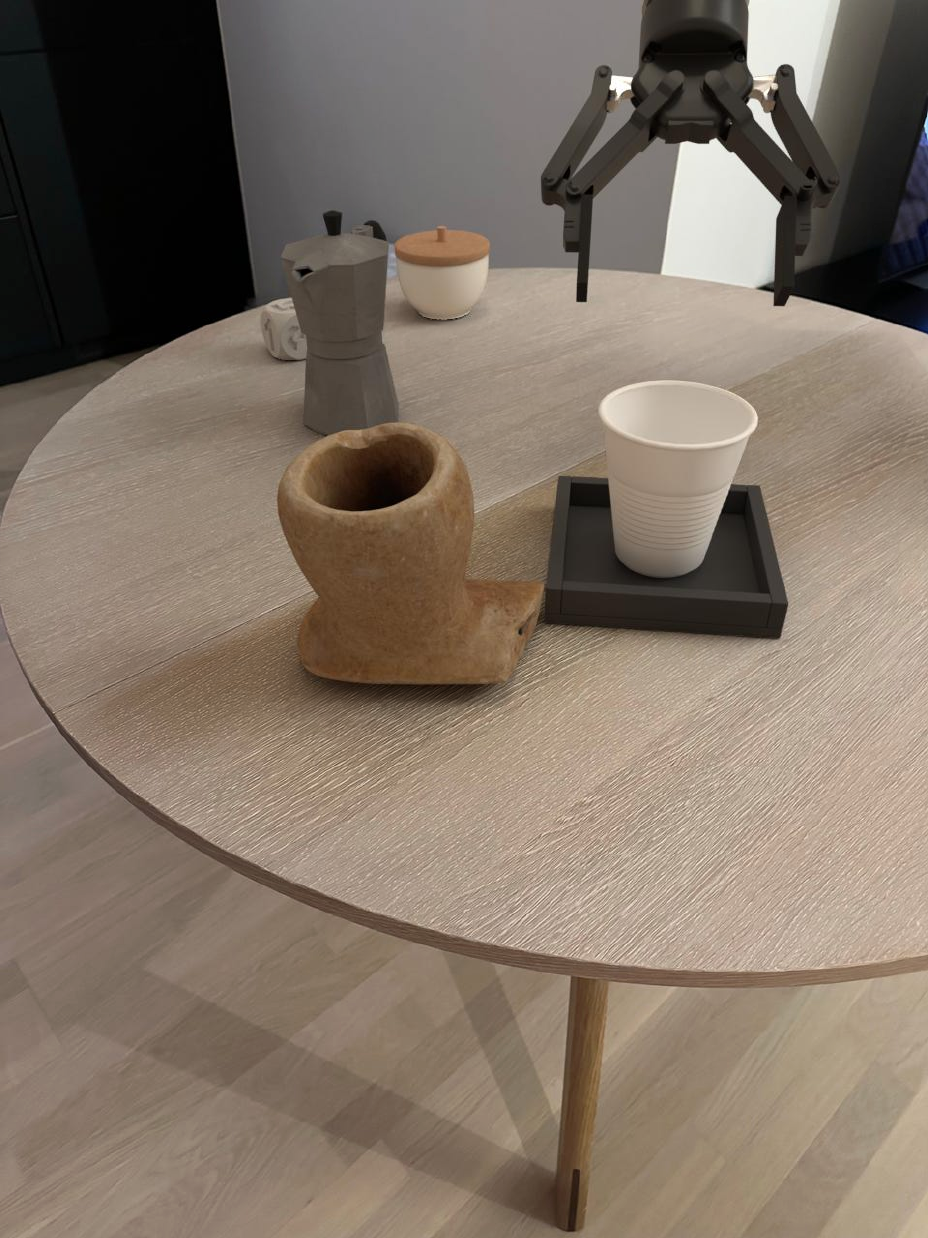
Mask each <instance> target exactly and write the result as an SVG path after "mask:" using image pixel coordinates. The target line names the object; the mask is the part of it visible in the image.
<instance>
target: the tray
mask: <svg viewBox="0 0 928 1238" xmlns="http://www.w3.org/2000/svg"><path fill="white" fill-rule="evenodd" d="M761 488H762V487H761V486H760V485H757V484H736V483H735V484H733V483H731V485H730V489H729V490H728V494H727V496H726V499H725V502H724V504H723V508H722V509H721V513H720V515H719V519H718V521H717V523H716V526H715V528H714V532H713V534H712V538H711V540H710V543H709V546H708V548H707V551H706V554H705V557H704V559H703V561H702V563H701V564H700V565H699V566H698V567H697V568H696V569H694V570H692V571H691V572H688V573H687V574H684V575H681V576H677V577H671V578H656V577H650V576H646V575H642V574H640V573H637V572H635V571H633V570H631V569H629V568H628V567H627V566H626V565H625V564H624V563H622V562H621V561H620V560H619V558H618V557H617V555H616V553H615V545H614V535H613V523H612V513H611V503H610V492H609V481H608V477H596V476H595V477H592V476H573V475H572V476H571V475H558V476H557V483H556V491H555V492H556V493H555V500H554V501H555V504H554V511H553V519H552V520H553V522H552V529H551V537H550V545H549V546H550V547H549V554H548V555H549V557H548V566H547V575H546V582H545V583H546V584H545V595H544V596H545V598H544V599H545V600H544V621H543V622H544V623H545V624H558V625H571V626H572V625H573V626H587V627H601V628H603V627H604V628H616V629H629V630H630V629H631V630H643V631H645V630H647V631H661V632H674V633H687V634H689V633H691V634H704V635H705V634H706V635H720V636H734V637H748V638H749V637H750V638H765V639H778V640H779V639H781V637H782V632H783V628H784V625H785V620H786V616H787V611H788V607H789V601H788V596H787V592H786V588H785V584H784V580H783V575H782V572H781V568H780V563H779V558H778V555H777V551H776V546H775V542H774V539H773V534H772V530H771V526H770V521H769V517H768V513H767V510H766V505H765V502H764V497H763V492H762V489H761Z"/></svg>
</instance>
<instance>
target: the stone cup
mask: <svg viewBox="0 0 928 1238" xmlns="http://www.w3.org/2000/svg"><path fill="white" fill-rule="evenodd" d="M276 502H277V504H276V505H277V515H278V519H279V522H280V525H281V530H282V532H283V535H284V537H285V539H286V540H285V541H286V542H287V544H288V547H289V549H290V552H291V553H292V557H293V558H294V560H295V563H296V564H297V566H298V568H299V569H300V571H301V573H302V574H303V576H304V577H305V579H306V581H307V582H308V584H309V585H310V587H311V588H312V589H313V591H314V593H315V594H316V595H317V596H318V597H317V599H316V600H315V601H314V602H313V604H311V606H310V607H309V609H308V610H307V612H306V613H305V615H304V617H303V619H302V621H301V623H300V626H299V631H298V634H297V641H296V651H297V653H299V654H300V661H301V663H302V666H303V667H304V668H305V669H306V670H307V671H308V672H310V673H311V674H313V675H315V676H318V677H320V678H325V679H329V680H336V681H342V682H347V683H355V684H356V683H357V684H370V685H371V684H372V685H379V684H380V685H493V684H494V685H495V684H504V683H506V682H507V681H509V677H510V676H511V675H512V674H513V673H514V672H515V671H516V670H517V666H518V664H519V661H520V659H521V658H522V657H523V655H524V653H525V646H526V645H527V643H529V641H530V639H531V637H532V636H533V634H534V632H535V630H536V627H537V624H538V623H537V622H538V618H539V616H540V612H541V609H542V603H543V599H544V596H545V593H546V584H545V583H544V582H543V581H541V580H508V579H507V580H505V579H489V578H466V574H467V568H468V564H469V558H470V552H471V546H472V541H473V534H474V525H475V515H476V513H475V501H474V493H473V487H472V482H471V479H470V475H469V472H468V469H467V466H466V464H465V462H464V460H463V458H462V457H461V455H460V454H459V453H458V451H457V450H456V449H455V448H454V446H453V445H452V444H451V443H450V442H449V440H447V439H446V438H445V437H444V436H442V434H441V435H440V434H438V433H437V432H434V431H433V430H430V429H429V428H426V427H424V426H420V425H417V424H413V423H408V422H395V423H386V424H381V425H378V426H374V427H372V428H368V429H362V430H345V431H341V432H338V433H335V434H332V435H328V436H327V435H325V436H324V437H323V438H321V439H318V440H316V441H315V442H314V443H312V444H311V445H309V446H307V447H306V448H305V449H304V450H303V451H302V452H300V453H299V454H298V455H297V456H295V458H293V460H291V462H290V463H289V464H288V465H287V466H286V468H285V471H284V472H283V475H282V477H281V479H280V482H279V484H278V489H277V494H276Z"/></svg>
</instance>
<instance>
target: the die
mask: <svg viewBox="0 0 928 1238" xmlns="http://www.w3.org/2000/svg"><path fill="white" fill-rule="evenodd" d="M260 328H261V334H262V338H263V341H264V343H265V346H266V348H267V351H268V352H269V353H270V354H271V356H272V357H273V358H275V357H276V358H275V359H277V358H278V359H277V360H280V359H282V360H281V361H285V360H297V361H302V360H306V353H307V341H306V335H305V334H303V333H301V330H300V326H299V323H298V319H297V315H296V312H295V308H294V304H293V301H292V297H287V298H280V299H276V300H273V301H271V302H269V303H267V304H266V305H265V307H264V308H263V309H262V311H261V314H260Z"/></svg>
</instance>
